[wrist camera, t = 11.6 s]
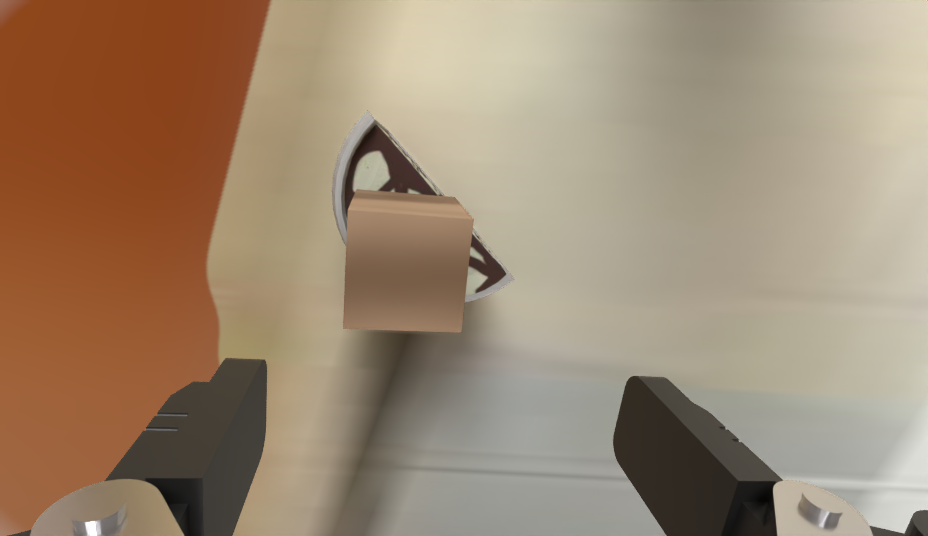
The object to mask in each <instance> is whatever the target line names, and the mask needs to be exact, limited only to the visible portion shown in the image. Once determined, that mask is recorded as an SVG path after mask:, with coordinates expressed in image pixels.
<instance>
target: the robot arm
mask: <svg viewBox="0 0 928 536" xmlns="http://www.w3.org/2000/svg"><path fill="white" fill-rule="evenodd" d="M266 397H267V365H266V361H265V360H260V359H236V358H226V359H225V360H224V361H223V362H222V364H221V365H220V367H219V368H218V370H217V371H216V373H215V374H214V376H213V377H212V379H211V380H210V382H192V383H190V384H189V385H187V386H185V387H184V388H182V389H181V390H179V391H177V392H176V393H174V394H173V395H171V396H170V397H169V399H168V400H167V401H166V402H165V404H164V405H163V406H162V408H161V409H160V410H159V412H158V414H157V416H155V417H154V418H153V419H152V420H151V422H150V423H149V425H148V426H147V427H146V431H143V432H142V433H141V435H140V436H139V437H138V439H137V440H136V441H135V443H134V444H133V445H132V446H131V448H130V449H129V450H128V452H127V453H126V454H125V455H124V457H123V458H122V459H121V461H120V462H119V463H118V464H117V466H116V467H115V468H114V470H113V471H112V472H111V474H110V475H109V476H108V478H107V479H106V480H105V481H104V482H100V483H96V484H93V485H90V486H87V487H85V488H82V489H79V490H77V491H75V492H73V493H71V494H69V495H67V496H65V497H64V498H62V499H60V500H59V501H57V502H56V503H55V504H53V505H52V506H50V507H49V508H48V509H47V510H46V511H45V512H44V513H43V514H42V515H41V516H40V517H39V518H38V520H37V521H36V522H35V524H34V526H33V528H32V530H29V531H25V532H21V533H18V534H14V535H9V536H232V535H233V532H234V530H235V527H236V524H237V522H238V519H239V516H240V513H241V511H242V508H243V505H244V503H245V500H246V497H247V494H248V492H249V489H250V486H251V484H252V481H253V478H254V475H255V473H256V470H257V467H258V465H259V462H260V459H261V456H262V452H263V447H264V441H265V433H266ZM613 445H614V452H615V456H616V459H617V461H618V463H619V465H620V466H621V468H622V469H623V471H624V472H625V474H626V475H627V477H628V478H629V480H630V481H631V483H632V484H633V486H634V487H635V489H636V490H637V492H638V493H639V495H640V496H641V498H642V499H643V501H644V502H645V504H646V505H647V507H648V508H649V510H650V511H651V513H652V514H653V516H654V517H655V519H656V520H657V522H658V523H659V525H660V526H661V528H662V529H663V531H664V532H665V534H666V535H667V536H928V510H920V511H917V512H915V513H914V514H913V516H912V518H911V520H910V523H909V525H908V527H907V529H906V531H905V534H903V533H899V532H894V531H890V530H886V529H881V528H877V527H873V526H869V524H868V522H867V521H866V520H865V518H864V517H863V516H862V515H861V514H860V513H859V512H858V511H857V510H856V509H855V508H853V507H852V506H851V505H850V504H848V503H847V502H845V501H844V500H842V499H841V498H839V497H837V496H836V495H834V494H832V493H830V492H828V491H826V490H824V489H822V488H819V487H817V486H814V485H811V484H808V483H804V482H800V481H793V480H785V481H783V480H782V479H781V478H780V477H779V476H778V475H777V474H776V473H775V472H774V471H773V470H771V469H770V468H769V467H768V466H767V465H766V464H765V463H764V462H763V461H762V460H761V459H759V458H758V457H757V456H756V455H755V454H754V453H753V452H752V451H751V450H750V449H749V448H748V447H746V446H745V445H744V444H743V443H742V442H739V441H738V438H737V437H736V436H734V435H733V434H732V433H731V432H730V431H729V430H725V426H724V425H723V424H721V423H720V422H719V421H718V420H717V419H716V418H715V417H714V416H713V415H712V414H711V413H709V412H708V411H706V410H705V409H703V408H701V407H700V406H698V405H696V404H694V403H693V402H691V401H690V400H689V399H688V398H687V397H686V396H685V395H684V394H683V393H682V392H681V391H680V390H679V389H678V388H677V387H675V386H674V385H673V384H672V383H671V382H670V381H669V380H668V379H667V378H664V377H646V376H632V377H630V378H629V380H628V381H627V383H626V386H625V390H624V394H623V398H622V402H621V407H620V411H619V415H618V419H617V423H616V427H615V432H614V438H613Z"/></svg>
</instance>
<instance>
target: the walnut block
mask: <svg viewBox="0 0 928 536" xmlns="http://www.w3.org/2000/svg"><path fill="white" fill-rule="evenodd" d="M473 221H474V219H473V218H472V217H471V216H470V215H469V213H468V212H467V211H466V210H465V209H464V208H463V206H462V205H461V204H460V203H459V202H458V201H457V199H456V198H455V197H447V196H435V195H422V194H410V193H398V192H385V191H373V190H361V189H356V192H355V194H354V196H353V199H352V201H351V204H350V206H349V208H348V217H347V243H346V269H345V295H344V321H343V329H370V330H399V331H428V332H457V333H461V331H462V322H463V313H464V304H465V294H466V285H467V276H468V267H469V258H470V248H471V239H472V230H473Z"/></svg>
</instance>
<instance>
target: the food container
mask: <svg viewBox="0 0 928 536" xmlns="http://www.w3.org/2000/svg"><path fill="white" fill-rule="evenodd" d="M356 189H361V190H373V191H385V192H398V193H410V194H422V195H435V196H445V195H444V194H443V193H442V192H441V191H440V190H439V188H438V187H437V186H436V185H435V184H434V183H433V182H432V180H431V179H430V178H429V177H428V176H427V175H426V174H425V172H424V171H423V170H422V169H421V168H420V167H419V166H418V164H417V163H416V162H415V161H414V160H413V159H412V157H411V156H410V155H409V154H408V153H407V152H406V151H405V149H404V148H403V147H402V146H401V145H400V144H399V143H398V141H397V140H396V139H395V138H394V137H393V136H392V134H391V133H390V132H389V131H388V130H387V129H386V128H385V127H384V126H383V125H381V124H380V123H379V122H378V121H377V120H376V119H374V117H373V116H372V115H371V113H370V112H369V111H368V110H367V111H366V113H365V114H364V115H363V116H362V117H361V118H360V119H359V120H358V121H357V123H356V124H355V125H354V127H353V128H352V130H351V131H350V133H349V135H348V136H347V138H346V139H345V141H344V144H343V146H342V148H341V151H340V153H339V155H338V158H337V162H336V166H335V170H334V174H333V185H332V199H333V211H334V215H335V219H336V223H337V227H338V230H339V232H340V234H341V237H342V239H343V242H344V244H345V245H346V243H347V217H348V208H349V206H350V204H351V201H352V199H353V196H354V194H355V192H356ZM513 280H514V278H513V276H512V275H511V274H510V273H509V272H508V271H507V269H506V268H505V267H504V266H503V264H502V263H501V262H500V261H499V260H498V258H497V257H496V256H495V255H494V253H493V252H492V251H491V250H490V248H489V247H488V246H487V245H486V243H485V242H484V241H483V240H482V239H481V237H480V236H479V235H478V234H477V232H476V231H475V230H474V229H473V230H472V239H471V248H470V258H469V267H468V276H467V285H466V294H465V302H471V301H474V300H477V299H480V298H483V297H485V296H488V295H490V294H492V293H494V292H496V291H498V290H500V289H502V288H503V287H505V286H506V285H507V284H509V283H510V282H511V281H513Z"/></svg>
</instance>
